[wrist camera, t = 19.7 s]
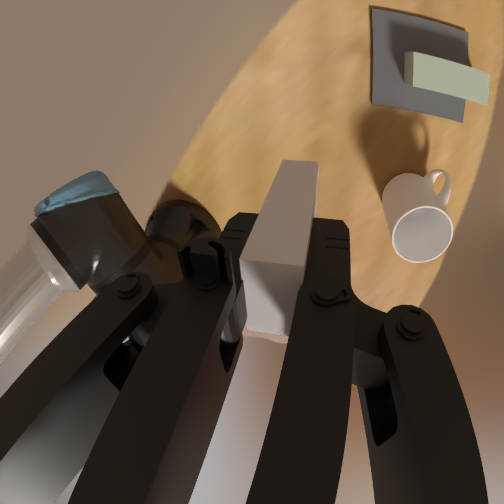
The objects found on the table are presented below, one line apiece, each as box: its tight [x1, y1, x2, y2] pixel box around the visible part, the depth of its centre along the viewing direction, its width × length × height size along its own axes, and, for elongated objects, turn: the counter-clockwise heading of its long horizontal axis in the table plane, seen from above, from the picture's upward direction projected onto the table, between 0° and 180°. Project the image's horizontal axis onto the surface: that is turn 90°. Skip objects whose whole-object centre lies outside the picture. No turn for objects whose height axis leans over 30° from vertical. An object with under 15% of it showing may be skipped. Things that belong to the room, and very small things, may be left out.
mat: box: [371, 8, 468, 123], centre depth 27 cm, size 14×14×1 cm
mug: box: [382, 169, 453, 263], centre depth 34 cm, size 9×12×11 cm
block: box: [404, 52, 490, 106], centre depth 25 cm, size 4×4×11 cm
